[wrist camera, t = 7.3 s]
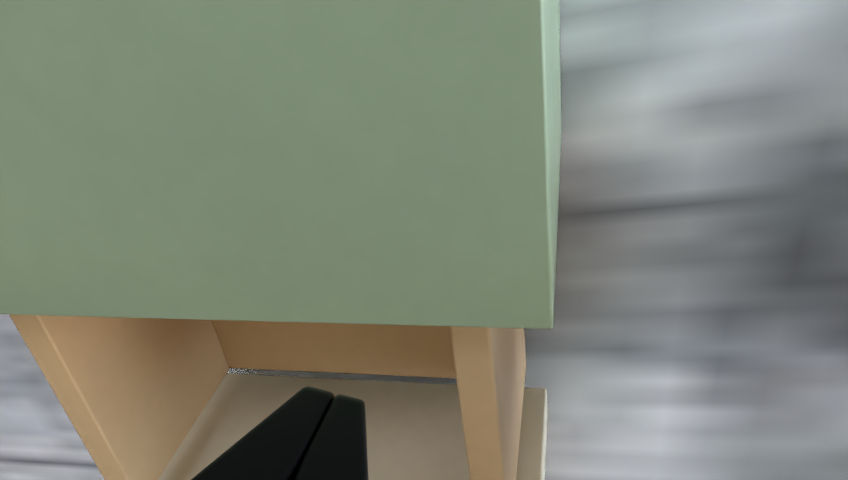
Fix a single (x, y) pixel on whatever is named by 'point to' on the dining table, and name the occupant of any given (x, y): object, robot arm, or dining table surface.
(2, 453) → the dining table surface
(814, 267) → the dining table surface
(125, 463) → the drawer
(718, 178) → the dining table surface
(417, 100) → the cabinet
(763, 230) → the dining table surface
